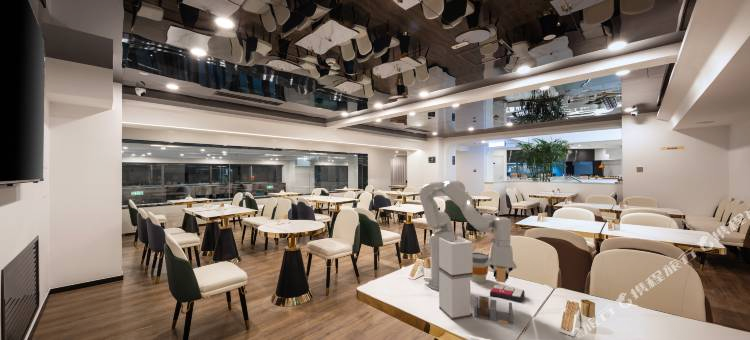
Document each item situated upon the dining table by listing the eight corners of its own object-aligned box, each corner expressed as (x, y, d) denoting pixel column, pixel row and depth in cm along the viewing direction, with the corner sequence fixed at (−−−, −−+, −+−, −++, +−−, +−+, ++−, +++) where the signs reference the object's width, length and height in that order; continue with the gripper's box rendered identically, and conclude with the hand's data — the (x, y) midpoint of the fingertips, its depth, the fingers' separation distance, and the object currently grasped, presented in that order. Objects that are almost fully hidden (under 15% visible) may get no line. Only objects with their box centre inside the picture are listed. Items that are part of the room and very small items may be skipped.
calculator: (494, 283, 165) (524, 288, 156) (495, 291, 165) (524, 296, 156) (489, 290, 156) (520, 296, 147) (490, 298, 156) (521, 305, 147)
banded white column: (472, 318, 134) (472, 242, 134) (451, 322, 131) (451, 244, 131) (458, 307, 145) (458, 236, 145) (439, 310, 142) (439, 238, 142)
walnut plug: (479, 314, 136) (479, 299, 135) (479, 310, 139) (479, 296, 139) (488, 316, 134) (488, 301, 134) (488, 312, 138) (488, 297, 138)
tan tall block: (496, 281, 145) (496, 267, 145) (496, 278, 149) (496, 264, 148) (505, 282, 143) (505, 268, 143) (505, 279, 147) (505, 265, 147)
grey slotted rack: (474, 319, 134) (474, 306, 133) (475, 309, 143) (475, 297, 143) (513, 326, 128) (513, 312, 127) (511, 315, 137) (511, 302, 137)
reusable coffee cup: (463, 276, 185) (463, 252, 185) (482, 275, 186) (482, 252, 186) (472, 284, 172) (472, 259, 172) (492, 283, 174) (492, 258, 174)
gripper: (483, 242, 145) (482, 279, 146) (521, 246, 139) (520, 285, 139) (484, 238, 152) (483, 273, 153) (520, 242, 146) (518, 279, 146)
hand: (500, 278), depth 146 cm, fingers closed on tan tall block, 4 cm apart
